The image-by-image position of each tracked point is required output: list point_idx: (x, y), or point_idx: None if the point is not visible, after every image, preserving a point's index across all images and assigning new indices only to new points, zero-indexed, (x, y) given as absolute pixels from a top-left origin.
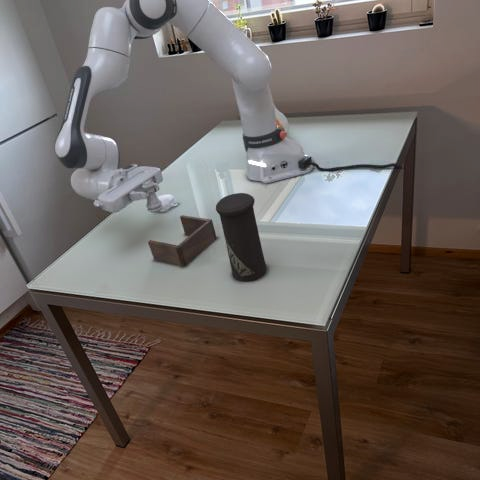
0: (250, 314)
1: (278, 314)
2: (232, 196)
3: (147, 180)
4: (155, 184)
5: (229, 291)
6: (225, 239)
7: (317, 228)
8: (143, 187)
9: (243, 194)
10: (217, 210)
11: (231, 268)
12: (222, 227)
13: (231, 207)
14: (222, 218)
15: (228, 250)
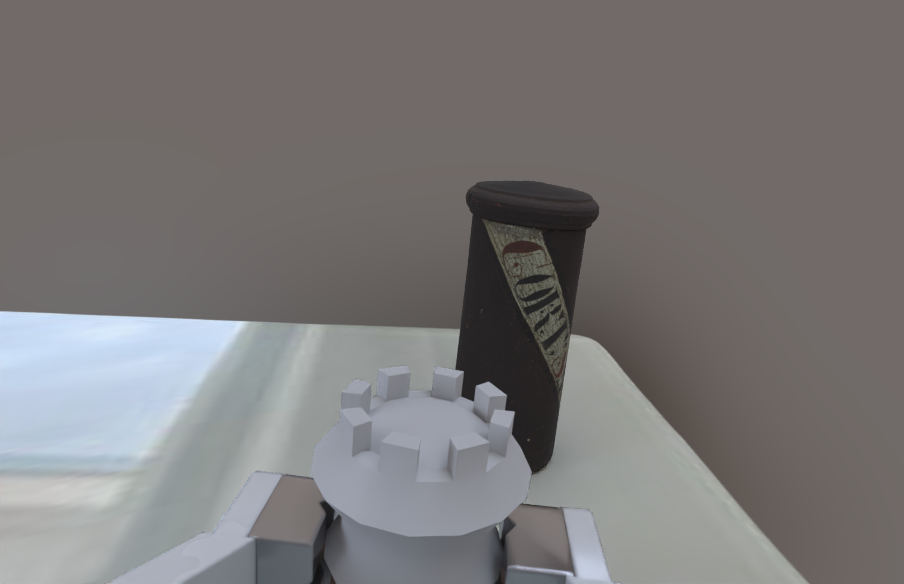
0: (650, 405)
1: (613, 374)
2: (516, 185)
3: (367, 417)
4: (270, 485)
5: (610, 459)
6: (565, 327)
7: (234, 372)
8: (526, 476)
9: (488, 182)
10: (595, 210)
11: (545, 441)
12: (567, 287)
13: (576, 190)
14: (583, 240)
15: (562, 364)
